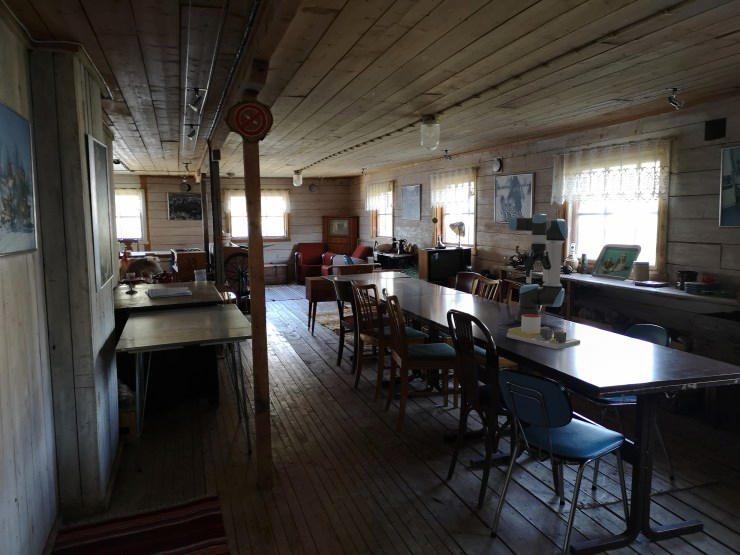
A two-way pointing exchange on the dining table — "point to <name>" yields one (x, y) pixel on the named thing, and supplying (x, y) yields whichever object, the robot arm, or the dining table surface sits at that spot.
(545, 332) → the breaker
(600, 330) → the dining table surface
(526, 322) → the cup
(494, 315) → the dining table surface
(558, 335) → the breaker
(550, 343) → the panel
